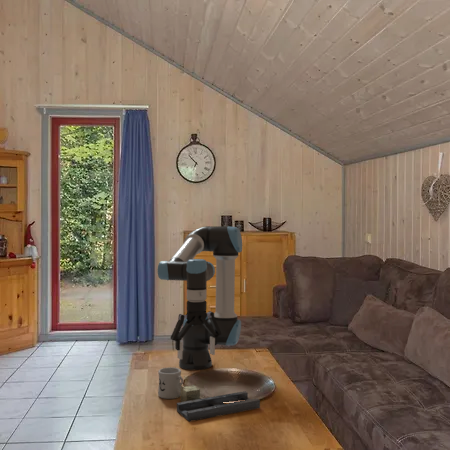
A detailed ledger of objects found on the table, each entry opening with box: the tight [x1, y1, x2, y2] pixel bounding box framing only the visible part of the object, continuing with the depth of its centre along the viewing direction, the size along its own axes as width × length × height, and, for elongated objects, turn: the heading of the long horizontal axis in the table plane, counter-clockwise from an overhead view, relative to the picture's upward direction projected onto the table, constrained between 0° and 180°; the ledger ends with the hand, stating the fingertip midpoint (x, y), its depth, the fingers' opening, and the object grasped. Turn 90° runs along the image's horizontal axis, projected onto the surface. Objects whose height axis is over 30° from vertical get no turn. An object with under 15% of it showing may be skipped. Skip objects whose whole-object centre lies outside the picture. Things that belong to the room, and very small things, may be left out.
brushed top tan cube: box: [180, 385, 201, 402], centre depth 214 cm, size 6×6×6 cm
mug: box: [157, 366, 184, 400], centre depth 220 cm, size 12×9×10 cm
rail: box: [176, 390, 261, 422], centre depth 207 cm, size 11×28×3 cm, turn 118°
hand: (196, 356), depth 214 cm, fingers open, 13 cm apart
